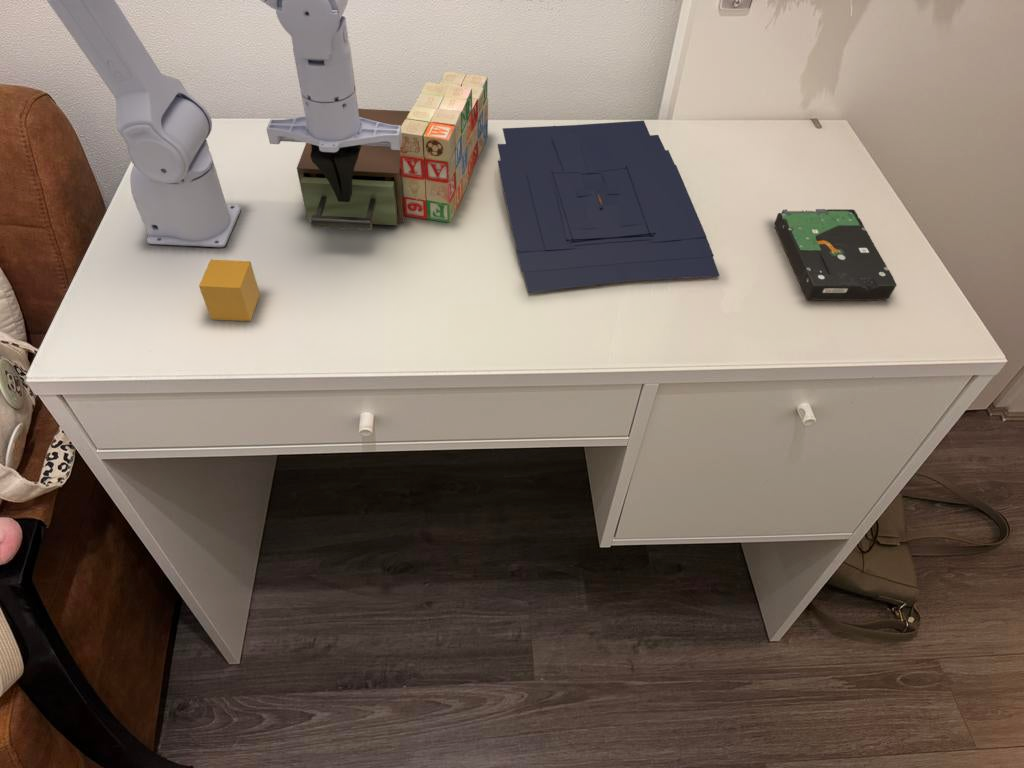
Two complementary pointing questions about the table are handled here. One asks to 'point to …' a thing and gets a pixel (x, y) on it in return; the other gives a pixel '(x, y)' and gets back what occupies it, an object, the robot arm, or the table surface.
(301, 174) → the cabinet
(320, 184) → the drawer
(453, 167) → the stack of blocks
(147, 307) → the table surface
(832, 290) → the disk drive
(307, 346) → the table surface
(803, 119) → the table surface
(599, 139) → the navy folded towel
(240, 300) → the block
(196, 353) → the table surface
